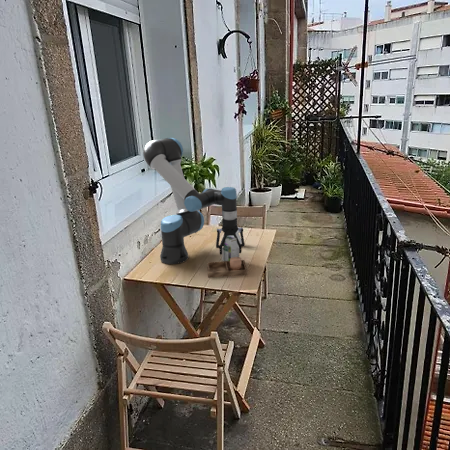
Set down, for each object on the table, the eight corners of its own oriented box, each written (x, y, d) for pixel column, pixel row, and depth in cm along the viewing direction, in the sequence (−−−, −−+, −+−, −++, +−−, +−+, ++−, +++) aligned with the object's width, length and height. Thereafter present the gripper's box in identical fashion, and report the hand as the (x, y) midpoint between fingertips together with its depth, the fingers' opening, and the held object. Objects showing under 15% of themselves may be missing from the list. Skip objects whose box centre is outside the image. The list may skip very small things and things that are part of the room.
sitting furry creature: (224, 244, 223) (224, 225, 219) (235, 241, 228) (235, 222, 224) (234, 249, 216) (234, 230, 212) (246, 245, 221) (245, 226, 217)
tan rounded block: (230, 273, 185) (230, 261, 184) (229, 268, 191) (229, 257, 189) (242, 272, 186) (241, 261, 184) (240, 267, 191) (240, 256, 189)
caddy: (208, 279, 182) (208, 272, 181) (207, 268, 193) (207, 262, 192) (247, 276, 183) (247, 270, 182) (244, 266, 195) (244, 260, 193)
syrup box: (223, 262, 199) (222, 237, 195) (231, 259, 203) (231, 234, 198) (229, 266, 195) (228, 240, 190) (238, 263, 198) (238, 237, 194)
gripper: (209, 221, 186) (211, 263, 194) (250, 219, 188) (250, 261, 195) (209, 216, 194) (210, 257, 201) (248, 214, 195) (248, 255, 202)
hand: (230, 259), depth 198 cm, fingers closed on syrup box, 8 cm apart
